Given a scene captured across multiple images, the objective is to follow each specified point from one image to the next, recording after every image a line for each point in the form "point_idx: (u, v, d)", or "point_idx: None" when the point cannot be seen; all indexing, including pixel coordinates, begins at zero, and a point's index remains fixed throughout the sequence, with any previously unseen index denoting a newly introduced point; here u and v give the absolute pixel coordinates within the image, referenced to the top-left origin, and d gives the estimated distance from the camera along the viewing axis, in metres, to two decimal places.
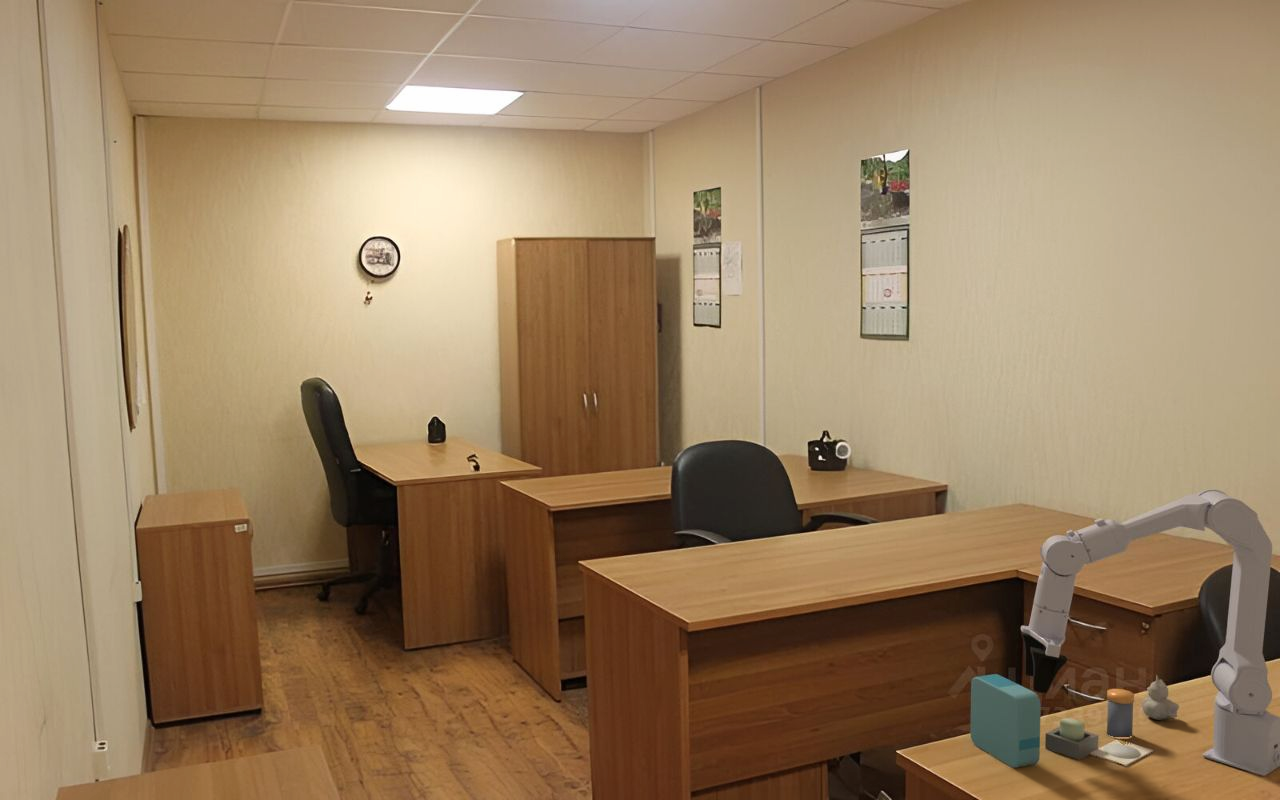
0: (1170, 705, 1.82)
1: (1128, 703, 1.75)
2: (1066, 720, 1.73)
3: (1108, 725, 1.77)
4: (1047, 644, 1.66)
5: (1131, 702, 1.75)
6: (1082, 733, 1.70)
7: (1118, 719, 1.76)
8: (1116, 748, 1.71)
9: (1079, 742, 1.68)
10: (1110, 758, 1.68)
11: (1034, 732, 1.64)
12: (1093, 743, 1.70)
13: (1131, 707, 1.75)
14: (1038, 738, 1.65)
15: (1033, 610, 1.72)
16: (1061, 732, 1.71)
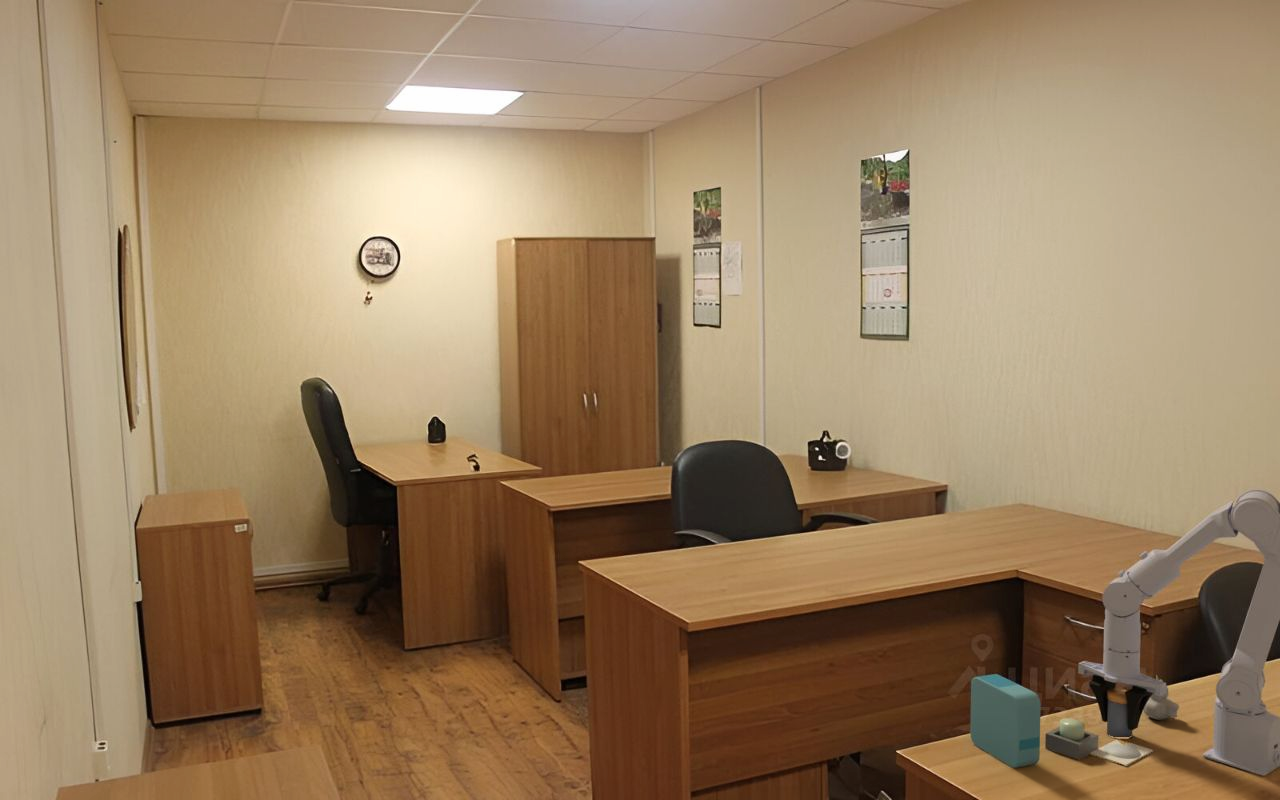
0: (1170, 705, 1.82)
1: None
2: (1066, 720, 1.73)
3: (1108, 725, 1.77)
4: (1157, 686, 1.71)
5: None
6: (1082, 733, 1.70)
7: (1118, 719, 1.76)
8: (1116, 748, 1.71)
9: (1079, 742, 1.68)
10: (1110, 758, 1.68)
11: (1034, 732, 1.64)
12: (1093, 743, 1.70)
13: None
14: (1038, 738, 1.65)
15: (1116, 658, 1.74)
16: (1061, 732, 1.71)
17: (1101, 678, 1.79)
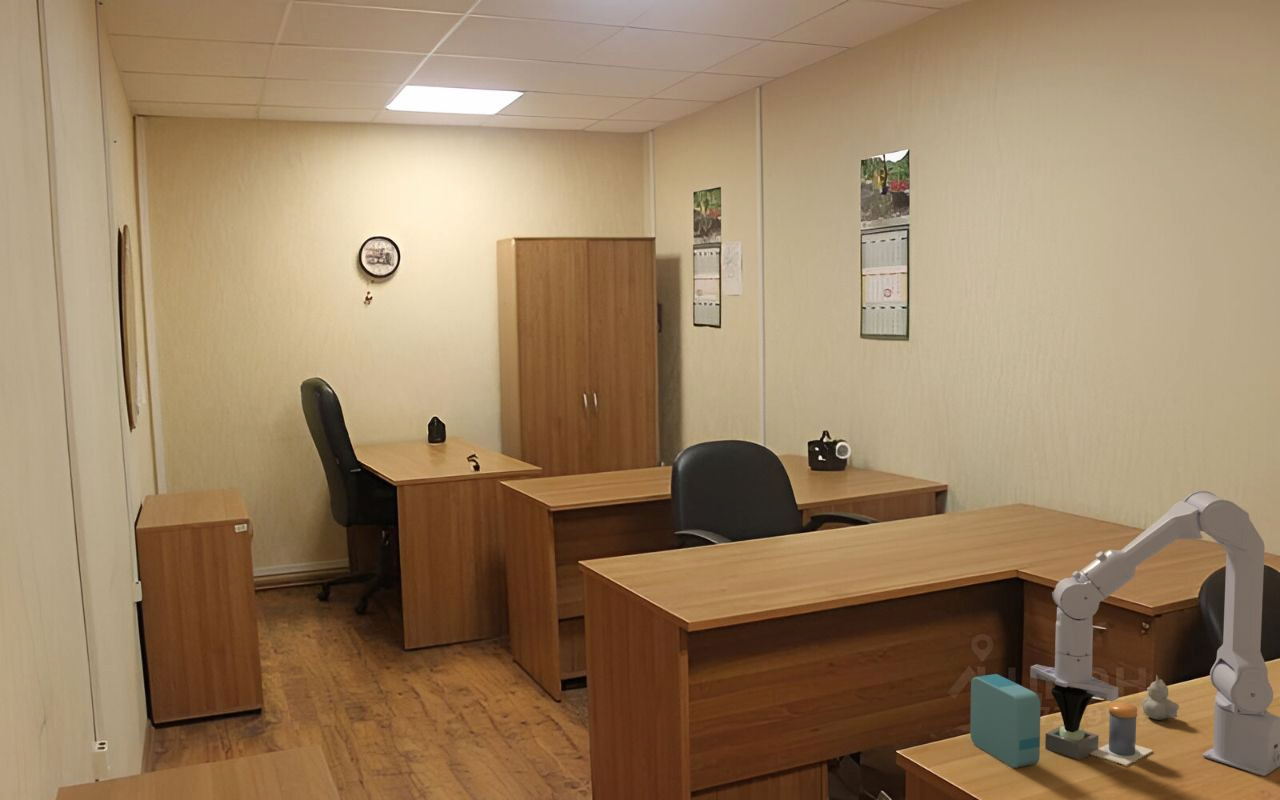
0: (1170, 705, 1.82)
1: (1131, 717, 1.68)
2: None
3: (1110, 741, 1.70)
4: (1109, 690, 1.65)
5: (1134, 716, 1.68)
6: None
7: (1121, 735, 1.68)
8: None
9: (1079, 742, 1.68)
10: (1110, 758, 1.68)
11: (1034, 732, 1.64)
12: (1093, 743, 1.70)
13: (1134, 721, 1.68)
14: (1038, 738, 1.65)
15: (1067, 661, 1.69)
16: None
17: (1053, 682, 1.73)
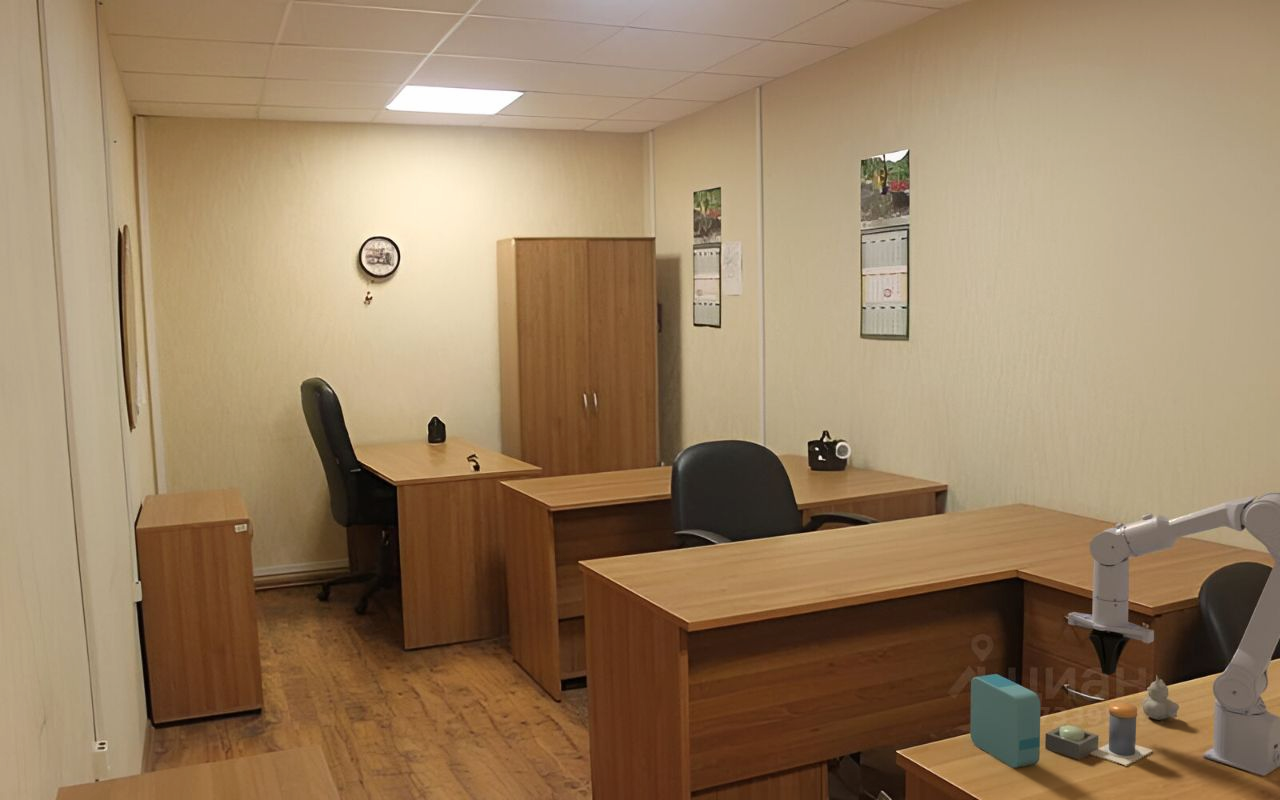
0: (1170, 705, 1.82)
1: (1131, 717, 1.68)
2: (1066, 727, 1.73)
3: (1110, 740, 1.70)
4: (1145, 633, 1.73)
5: (1134, 716, 1.68)
6: None
7: (1121, 734, 1.68)
8: None
9: (1079, 742, 1.68)
10: (1110, 758, 1.68)
11: (1034, 732, 1.64)
12: (1093, 743, 1.70)
13: (1134, 721, 1.68)
14: (1038, 738, 1.65)
15: (1104, 606, 1.77)
16: None
17: None
